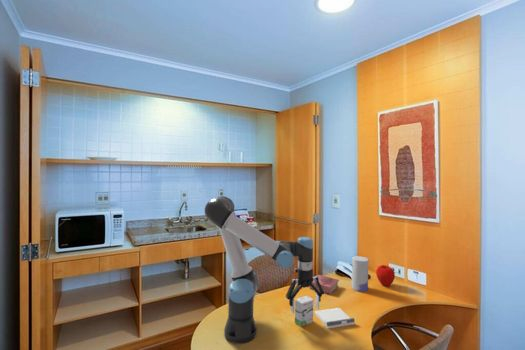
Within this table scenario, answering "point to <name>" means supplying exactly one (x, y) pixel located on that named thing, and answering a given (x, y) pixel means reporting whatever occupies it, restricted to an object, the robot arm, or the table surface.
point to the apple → (385, 275)
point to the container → (360, 273)
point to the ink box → (304, 310)
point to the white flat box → (334, 318)
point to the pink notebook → (326, 284)
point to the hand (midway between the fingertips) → (305, 310)
